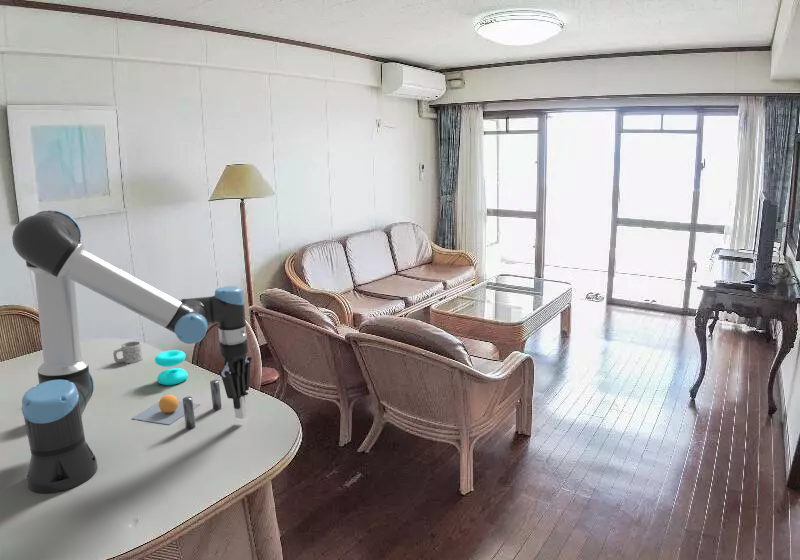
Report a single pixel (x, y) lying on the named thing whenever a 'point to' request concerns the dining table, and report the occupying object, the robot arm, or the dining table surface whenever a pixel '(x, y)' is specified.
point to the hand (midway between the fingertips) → (240, 416)
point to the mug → (130, 352)
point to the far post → (215, 394)
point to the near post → (189, 412)
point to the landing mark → (162, 414)
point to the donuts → (172, 374)
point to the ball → (168, 403)
